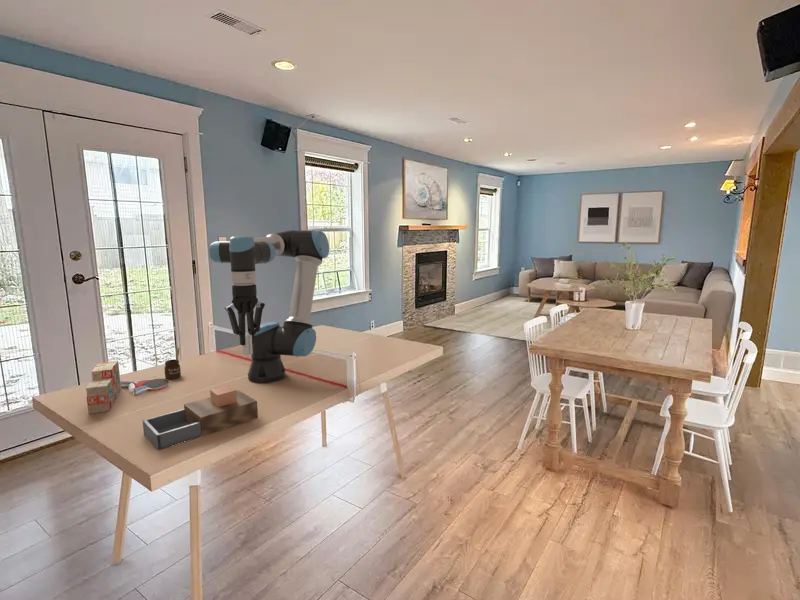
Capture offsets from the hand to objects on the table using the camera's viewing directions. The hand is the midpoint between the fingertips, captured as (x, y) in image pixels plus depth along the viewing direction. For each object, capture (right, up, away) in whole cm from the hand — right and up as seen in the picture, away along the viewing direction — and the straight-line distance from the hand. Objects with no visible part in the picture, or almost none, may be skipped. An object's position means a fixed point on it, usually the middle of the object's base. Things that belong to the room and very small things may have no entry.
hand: (247, 353), depth 145 cm
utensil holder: (-45, -15, +38) cm, 60 cm away
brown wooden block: (-7, -21, -4) cm, 23 cm away
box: (-18, -23, -14) cm, 32 cm away
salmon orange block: (-6, -15, -4) cm, 17 cm away
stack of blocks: (-55, -19, +12) cm, 60 cm away
